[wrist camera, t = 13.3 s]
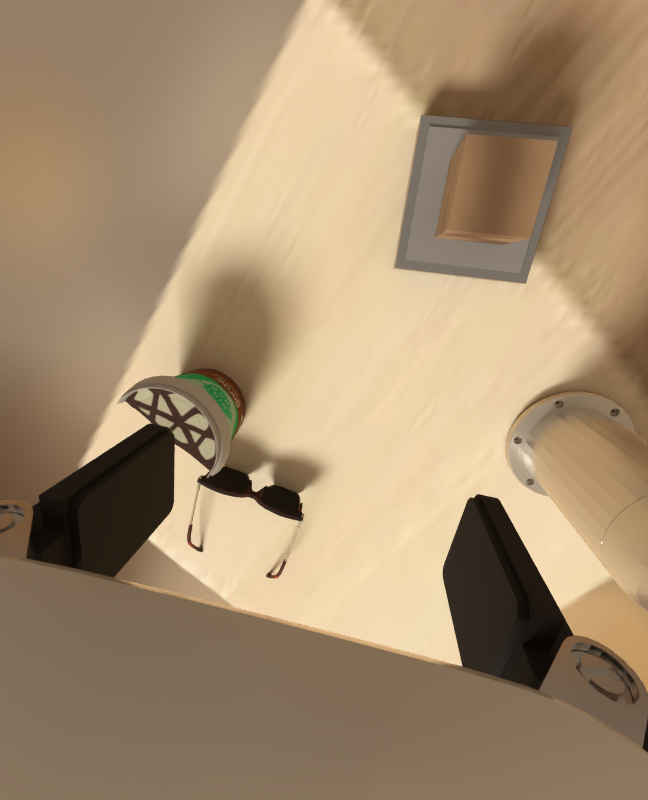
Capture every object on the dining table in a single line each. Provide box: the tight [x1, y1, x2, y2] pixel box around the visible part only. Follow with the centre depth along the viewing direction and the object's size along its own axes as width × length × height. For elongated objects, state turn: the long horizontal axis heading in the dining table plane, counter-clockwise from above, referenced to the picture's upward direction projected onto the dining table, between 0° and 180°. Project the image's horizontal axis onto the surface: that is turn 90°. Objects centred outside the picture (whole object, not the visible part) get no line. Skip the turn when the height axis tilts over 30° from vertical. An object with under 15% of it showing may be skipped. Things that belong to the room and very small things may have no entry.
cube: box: [435, 134, 558, 245], centre depth 28 cm, size 6×6×6 cm
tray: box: [394, 115, 572, 284], centre depth 32 cm, size 12×12×3 cm
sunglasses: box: [187, 466, 304, 578], centre depth 48 cm, size 14×16×5 cm
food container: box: [117, 369, 245, 478], centre depth 38 cm, size 12×6×10 cm, turn 49°
